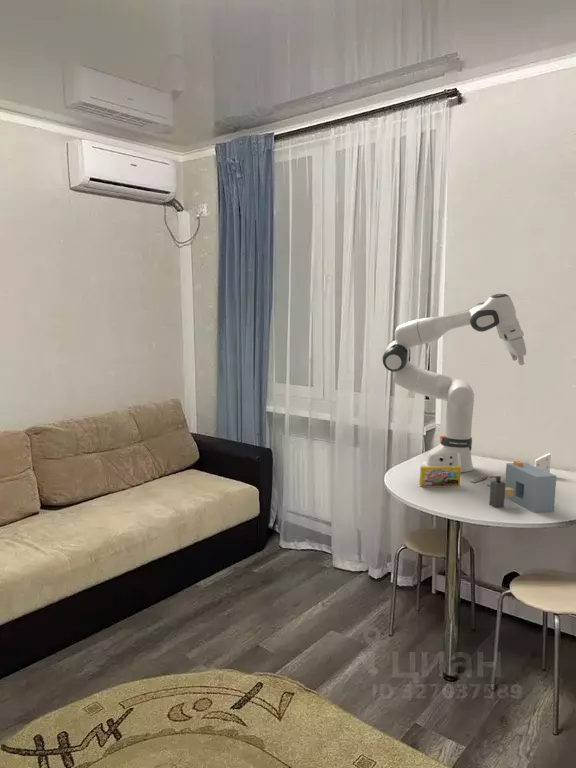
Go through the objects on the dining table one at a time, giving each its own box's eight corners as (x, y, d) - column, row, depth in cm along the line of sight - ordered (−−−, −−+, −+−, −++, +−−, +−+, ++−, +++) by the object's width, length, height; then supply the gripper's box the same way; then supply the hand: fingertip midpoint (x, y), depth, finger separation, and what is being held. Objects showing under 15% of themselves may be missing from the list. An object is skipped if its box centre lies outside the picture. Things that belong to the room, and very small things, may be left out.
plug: (495, 508, 211) (496, 478, 210) (489, 504, 215) (491, 475, 213) (513, 506, 213) (515, 477, 212) (507, 503, 217) (509, 474, 215)
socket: (534, 512, 207) (536, 473, 205) (504, 496, 224) (506, 460, 222) (553, 511, 209) (556, 472, 207) (523, 495, 226) (525, 459, 224)
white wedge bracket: (560, 471, 250) (550, 453, 250) (538, 481, 252) (529, 464, 251) (557, 469, 254) (547, 451, 253) (535, 479, 256) (526, 462, 255)
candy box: (420, 487, 235) (421, 467, 234) (419, 485, 237) (419, 465, 236) (460, 486, 236) (461, 466, 235) (458, 485, 238) (459, 465, 237)
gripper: (495, 330, 253) (504, 359, 256) (508, 337, 234) (518, 369, 236) (509, 325, 252) (518, 354, 255) (524, 332, 233) (533, 364, 235)
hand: (518, 362), depth 246 cm, fingers open, 8 cm apart
